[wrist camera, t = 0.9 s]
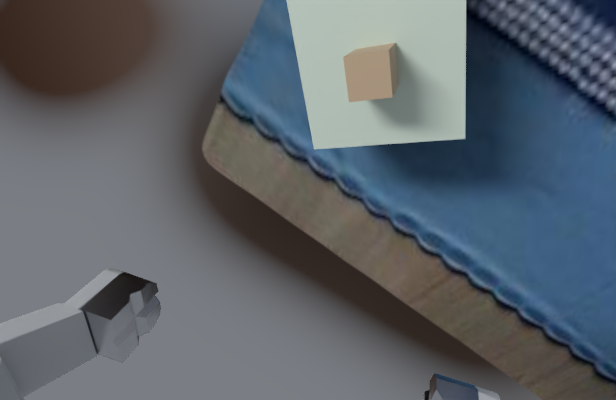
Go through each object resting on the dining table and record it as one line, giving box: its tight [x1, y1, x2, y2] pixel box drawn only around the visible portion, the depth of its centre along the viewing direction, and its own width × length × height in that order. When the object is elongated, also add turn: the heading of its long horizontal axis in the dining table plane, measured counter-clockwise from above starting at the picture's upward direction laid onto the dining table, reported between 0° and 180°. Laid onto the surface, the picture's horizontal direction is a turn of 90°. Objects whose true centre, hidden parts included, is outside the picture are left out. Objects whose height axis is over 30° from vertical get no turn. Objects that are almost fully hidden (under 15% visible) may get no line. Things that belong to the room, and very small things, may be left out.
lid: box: [287, 0, 466, 149], centre depth 27 cm, size 12×12×5 cm
